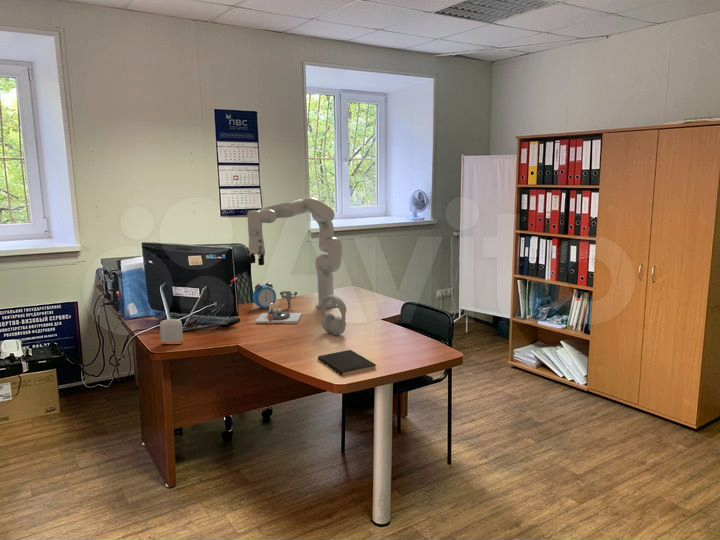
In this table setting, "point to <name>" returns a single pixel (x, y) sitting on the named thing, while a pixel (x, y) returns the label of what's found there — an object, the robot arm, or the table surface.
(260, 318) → the base plate
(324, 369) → the table surface
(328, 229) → the robot arm
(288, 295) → the mechanical component
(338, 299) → the headphones
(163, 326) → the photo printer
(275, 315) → the flange
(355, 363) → the hardcover book
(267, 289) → the alarm clock
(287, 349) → the table surface
